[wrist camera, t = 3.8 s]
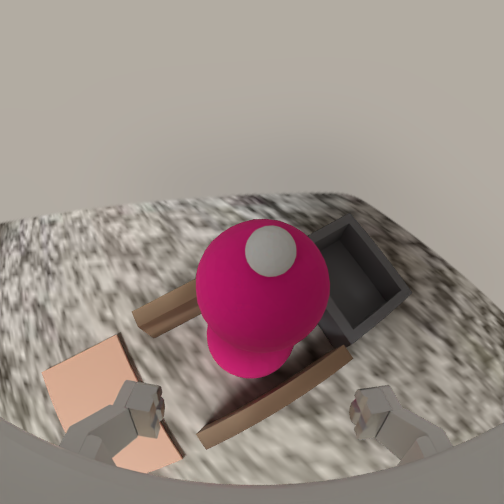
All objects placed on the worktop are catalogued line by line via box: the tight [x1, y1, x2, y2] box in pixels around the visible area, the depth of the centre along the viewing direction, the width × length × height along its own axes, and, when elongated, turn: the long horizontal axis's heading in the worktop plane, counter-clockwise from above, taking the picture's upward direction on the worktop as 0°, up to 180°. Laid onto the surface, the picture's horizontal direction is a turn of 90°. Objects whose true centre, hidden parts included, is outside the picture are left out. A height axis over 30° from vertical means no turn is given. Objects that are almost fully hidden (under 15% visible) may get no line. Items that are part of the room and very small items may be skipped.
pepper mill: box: [196, 219, 330, 378], centre depth 18 cm, size 7×7×20 cm
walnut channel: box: [132, 279, 353, 450], centre depth 24 cm, size 13×14×5 cm
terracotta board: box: [42, 335, 183, 473], centre depth 22 cm, size 14×11×1 cm
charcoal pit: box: [308, 213, 412, 349], centre depth 28 cm, size 11×9×4 cm
